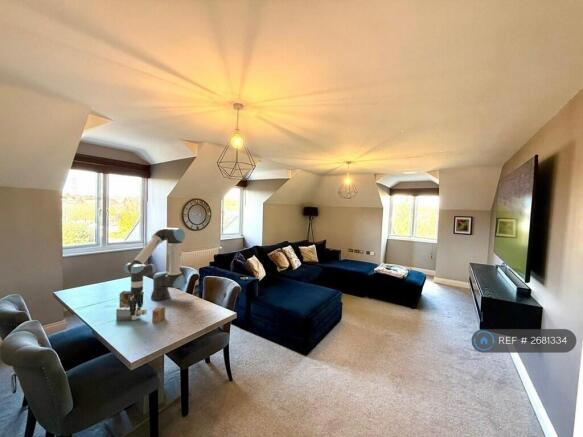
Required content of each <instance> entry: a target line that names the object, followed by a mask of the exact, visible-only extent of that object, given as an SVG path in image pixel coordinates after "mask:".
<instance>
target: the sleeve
mask: <svg viewBox="0 0 583 437" xmlns="http://www.w3.org/2000/svg"><path fill="white" fill-rule="evenodd" d="M115 315H116V317H115V318H116V320H115V321H116V322H131V321H133V320H134V319H132V314H131V311H130V306H121V307H120V306H119V307H118V308H116V312H115Z"/></svg>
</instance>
